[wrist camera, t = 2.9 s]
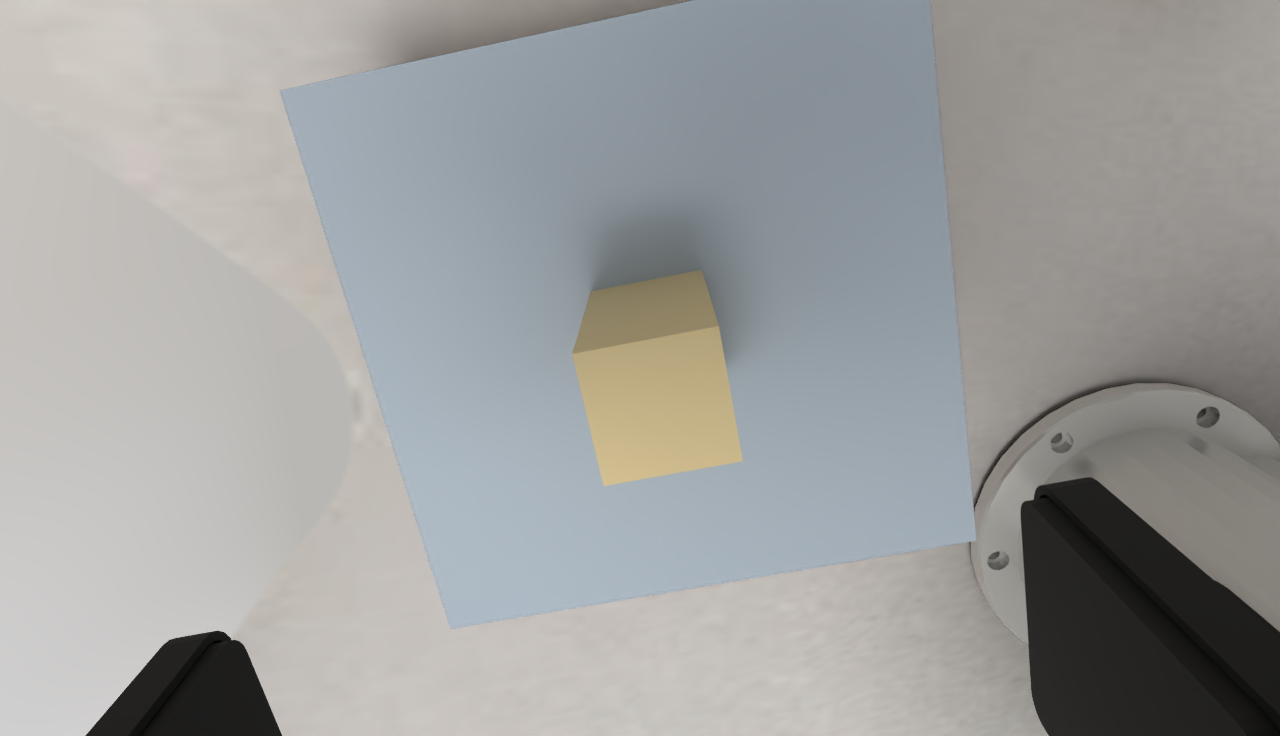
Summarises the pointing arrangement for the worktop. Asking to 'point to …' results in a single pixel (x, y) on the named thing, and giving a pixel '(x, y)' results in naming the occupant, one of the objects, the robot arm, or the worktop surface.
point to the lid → (655, 297)
